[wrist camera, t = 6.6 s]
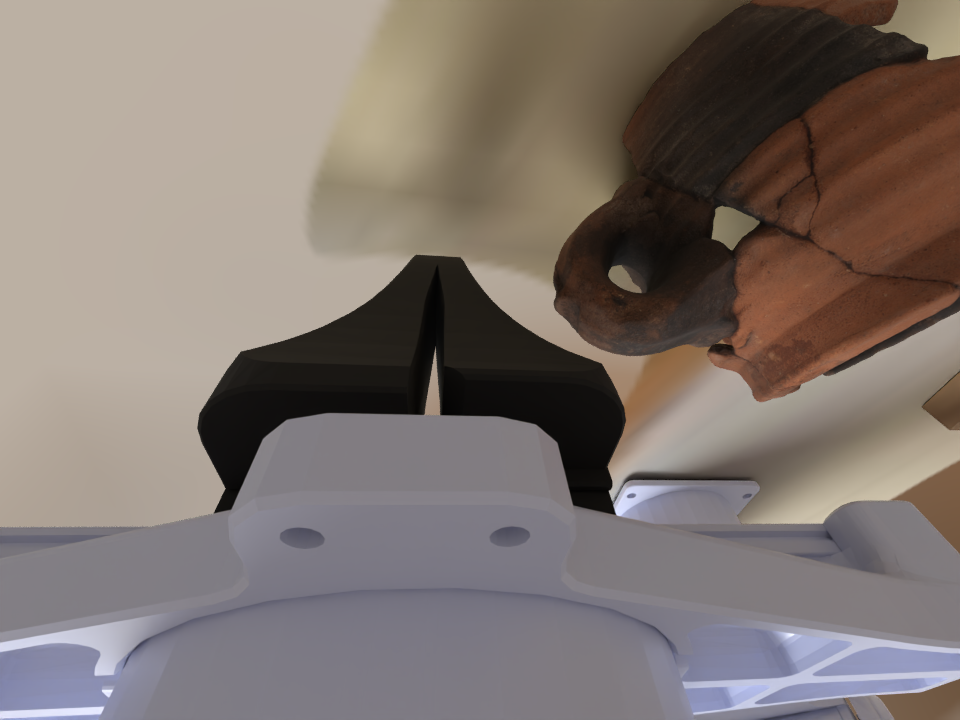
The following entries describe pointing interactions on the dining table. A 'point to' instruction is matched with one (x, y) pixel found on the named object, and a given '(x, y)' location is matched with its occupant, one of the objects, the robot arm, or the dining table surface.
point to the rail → (946, 404)
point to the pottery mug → (781, 199)
